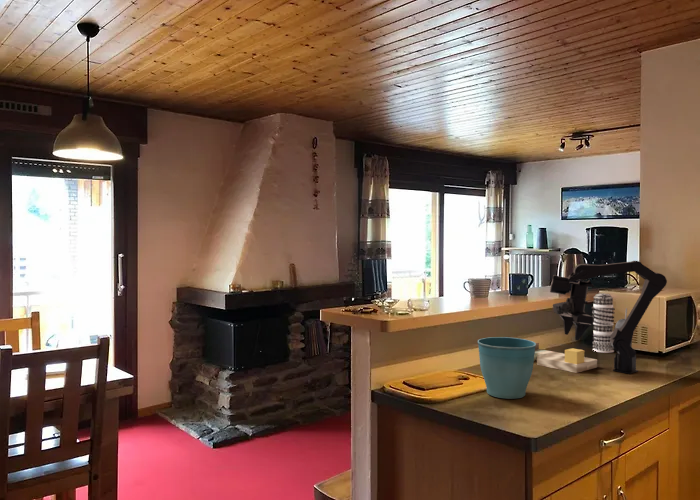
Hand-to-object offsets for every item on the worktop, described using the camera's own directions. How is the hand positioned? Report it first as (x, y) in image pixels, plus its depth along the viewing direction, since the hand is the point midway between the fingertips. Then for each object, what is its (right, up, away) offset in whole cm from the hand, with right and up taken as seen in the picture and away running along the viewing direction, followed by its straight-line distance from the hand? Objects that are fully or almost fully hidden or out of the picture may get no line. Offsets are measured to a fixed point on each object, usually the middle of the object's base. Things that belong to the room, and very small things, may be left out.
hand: (571, 337), depth 214 cm
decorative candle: (+27, -11, +32) cm, 43 cm away
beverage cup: (+31, -11, +22) cm, 39 cm away
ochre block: (0, -9, -2) cm, 9 cm away
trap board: (-3, -12, +9) cm, 15 cm away
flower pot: (-34, -13, -34) cm, 50 cm away
